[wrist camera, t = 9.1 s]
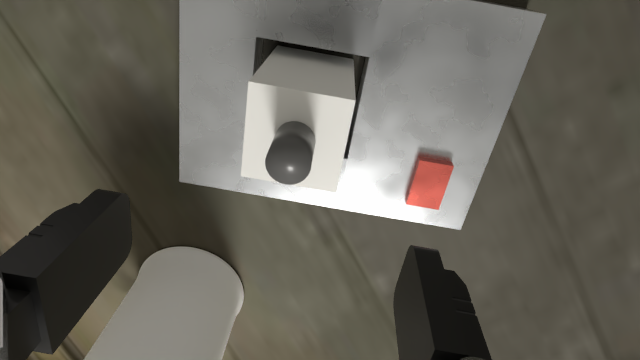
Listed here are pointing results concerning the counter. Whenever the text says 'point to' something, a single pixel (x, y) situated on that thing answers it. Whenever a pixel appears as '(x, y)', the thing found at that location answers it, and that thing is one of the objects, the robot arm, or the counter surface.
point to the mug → (174, 310)
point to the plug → (298, 118)
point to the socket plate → (363, 95)
